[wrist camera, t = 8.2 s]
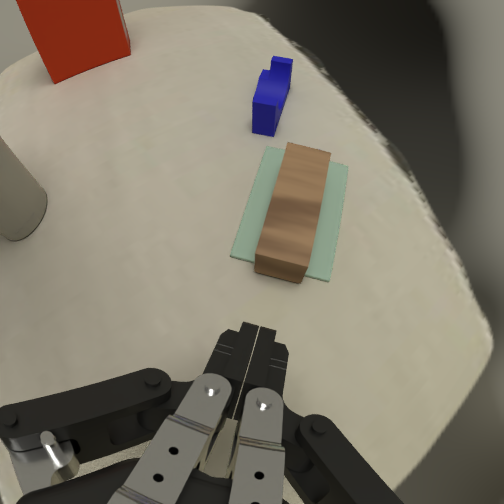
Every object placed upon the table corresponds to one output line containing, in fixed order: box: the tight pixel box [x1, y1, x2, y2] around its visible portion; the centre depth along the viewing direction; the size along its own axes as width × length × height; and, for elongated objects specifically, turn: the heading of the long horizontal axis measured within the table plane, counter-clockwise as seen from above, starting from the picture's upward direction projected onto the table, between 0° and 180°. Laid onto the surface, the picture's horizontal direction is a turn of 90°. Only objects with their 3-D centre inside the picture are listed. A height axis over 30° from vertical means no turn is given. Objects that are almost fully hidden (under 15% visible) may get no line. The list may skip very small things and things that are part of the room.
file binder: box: [16, 0, 131, 84], centre depth 38 cm, size 8×17×32 cm, turn 108°
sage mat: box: [230, 146, 348, 282], centre depth 37 cm, size 16×11×1 cm
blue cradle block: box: [252, 56, 293, 137], centre depth 42 cm, size 12×4×6 cm, turn 165°
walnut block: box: [254, 142, 331, 284], centre depth 34 cm, size 5×5×14 cm
